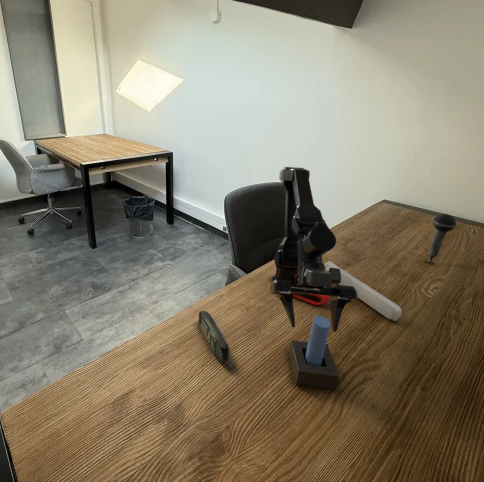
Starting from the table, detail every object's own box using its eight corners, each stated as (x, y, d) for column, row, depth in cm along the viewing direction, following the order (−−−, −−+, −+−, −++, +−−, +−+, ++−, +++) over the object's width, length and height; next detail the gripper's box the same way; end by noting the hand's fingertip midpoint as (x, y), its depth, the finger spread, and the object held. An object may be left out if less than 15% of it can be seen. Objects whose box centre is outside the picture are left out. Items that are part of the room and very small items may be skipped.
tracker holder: (310, 280, 100) (337, 291, 91) (308, 293, 100) (334, 306, 91) (283, 280, 94) (308, 292, 85) (280, 294, 94) (305, 308, 85)
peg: (300, 370, 69) (311, 321, 64) (306, 361, 71) (316, 313, 67) (315, 379, 67) (327, 330, 62) (320, 369, 69) (332, 321, 65)
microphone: (421, 265, 113) (438, 216, 106) (416, 256, 119) (432, 209, 112) (443, 269, 110) (462, 220, 104) (437, 260, 116) (455, 212, 110)
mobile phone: (196, 310, 79) (224, 354, 66) (207, 307, 80) (236, 350, 67) (196, 325, 81) (223, 371, 68) (206, 322, 82) (234, 367, 69)
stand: (288, 352, 73) (291, 340, 72) (324, 356, 73) (327, 344, 71) (295, 384, 66) (298, 371, 64) (335, 389, 65) (339, 376, 64)
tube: (409, 308, 84) (335, 261, 105) (399, 308, 81) (325, 260, 102) (400, 324, 85) (328, 275, 106) (390, 325, 83) (319, 274, 103)
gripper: (278, 249, 69) (279, 324, 62) (364, 257, 67) (374, 334, 61) (269, 260, 79) (270, 325, 73) (344, 267, 77) (350, 334, 71)
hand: (314, 329), depth 69 cm, fingers open, 9 cm apart
